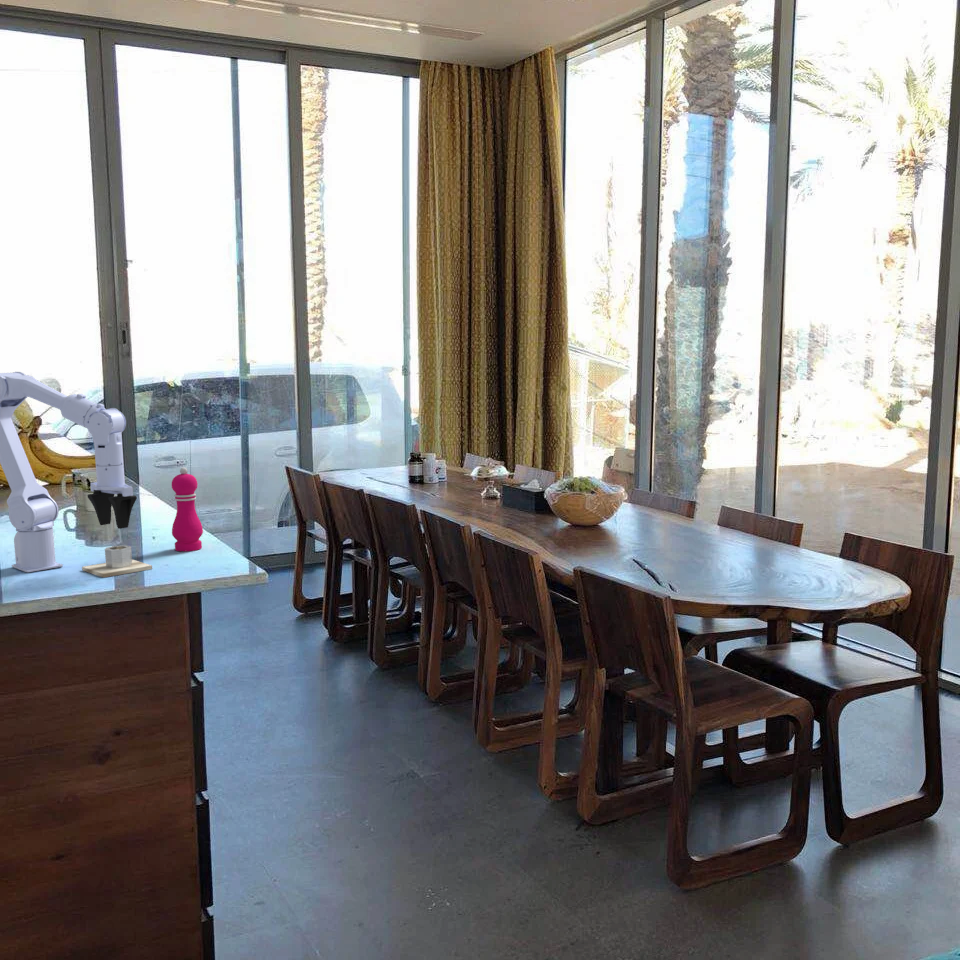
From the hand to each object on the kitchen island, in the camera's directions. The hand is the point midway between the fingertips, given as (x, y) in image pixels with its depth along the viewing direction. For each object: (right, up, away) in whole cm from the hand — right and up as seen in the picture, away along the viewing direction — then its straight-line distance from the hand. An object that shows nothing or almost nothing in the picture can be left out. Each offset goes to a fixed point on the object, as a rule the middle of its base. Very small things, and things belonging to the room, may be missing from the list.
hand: (113, 526), depth 217 cm
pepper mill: (+10, -7, +23) cm, 26 cm away
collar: (+1, -9, +2) cm, 9 cm away
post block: (0, -10, +1) cm, 10 cm away
